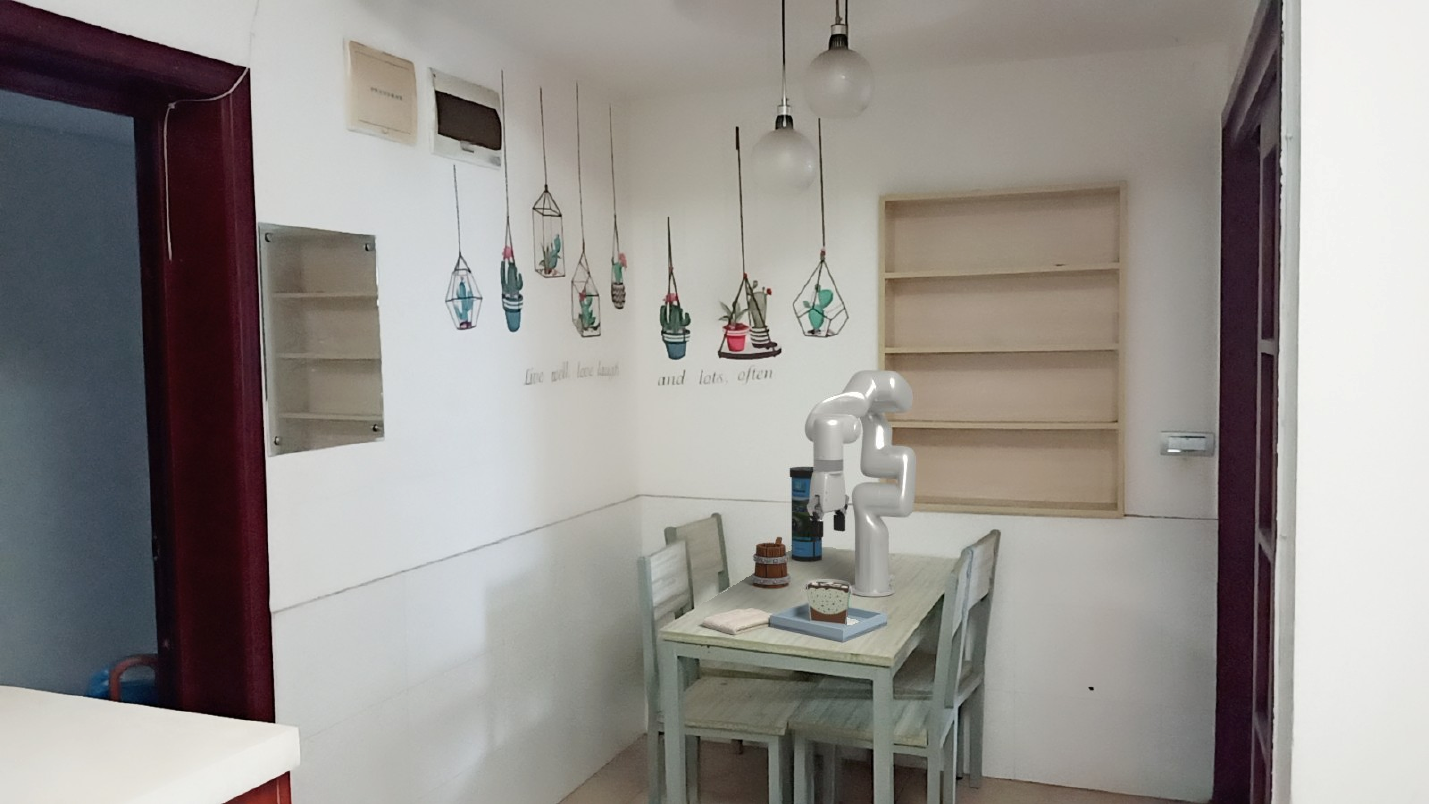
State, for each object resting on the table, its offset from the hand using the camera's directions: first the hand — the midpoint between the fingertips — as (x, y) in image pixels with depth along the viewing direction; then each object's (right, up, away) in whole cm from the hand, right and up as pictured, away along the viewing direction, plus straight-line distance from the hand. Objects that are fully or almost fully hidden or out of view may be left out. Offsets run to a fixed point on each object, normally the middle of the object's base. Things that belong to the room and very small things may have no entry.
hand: (828, 533), depth 267 cm
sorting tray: (0, -23, 0) cm, 23 cm away
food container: (+1, -23, +2) cm, 23 cm away
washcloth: (-22, -24, +2) cm, 32 cm away
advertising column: (+2, -19, +84) cm, 86 cm away
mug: (-12, -21, +48) cm, 54 cm away
